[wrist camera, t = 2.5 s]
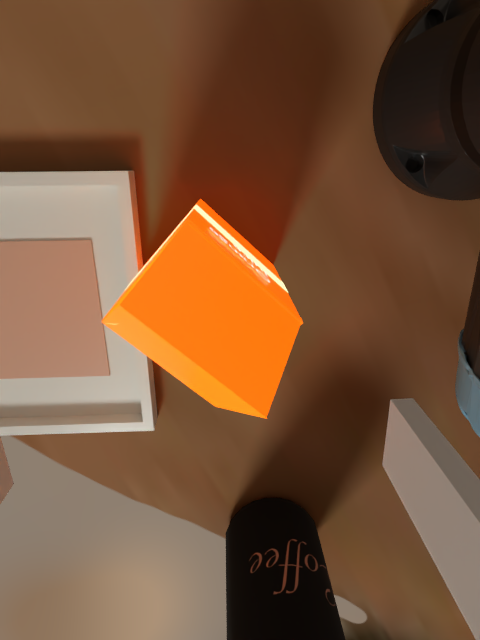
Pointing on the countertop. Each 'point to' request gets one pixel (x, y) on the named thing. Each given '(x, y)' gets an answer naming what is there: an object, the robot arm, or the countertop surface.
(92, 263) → the tray
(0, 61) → the countertop surface
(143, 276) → the orange juice
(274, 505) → the coffee jar
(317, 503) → the countertop surface
